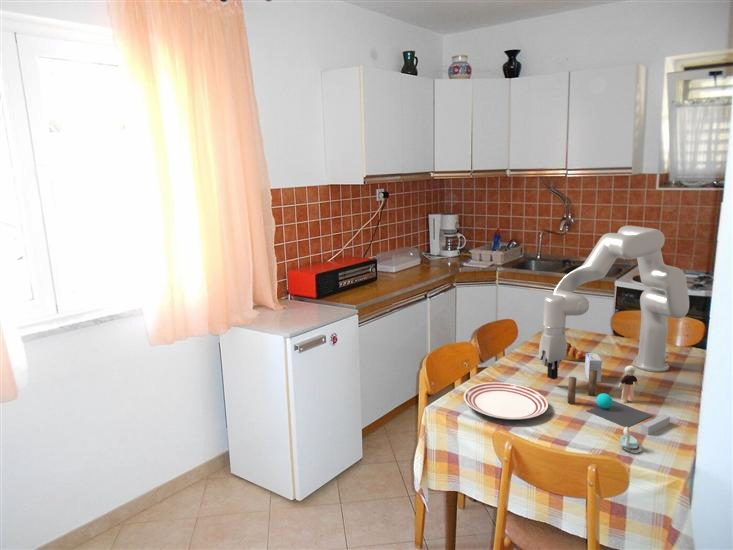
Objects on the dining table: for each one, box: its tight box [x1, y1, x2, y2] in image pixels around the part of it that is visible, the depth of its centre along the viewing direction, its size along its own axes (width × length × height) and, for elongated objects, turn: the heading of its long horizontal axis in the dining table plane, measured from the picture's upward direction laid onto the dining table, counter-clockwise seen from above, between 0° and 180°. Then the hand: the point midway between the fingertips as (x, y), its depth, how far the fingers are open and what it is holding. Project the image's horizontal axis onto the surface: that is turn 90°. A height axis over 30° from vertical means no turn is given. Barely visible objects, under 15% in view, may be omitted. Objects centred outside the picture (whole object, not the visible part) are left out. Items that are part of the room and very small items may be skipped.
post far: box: [567, 376, 577, 405], centre depth 185 cm, size 2×2×9 cm
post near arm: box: [587, 369, 597, 397], centre depth 191 cm, size 2×2×9 cm
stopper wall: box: [640, 413, 671, 435], centre depth 167 cm, size 12×2×2 cm, turn 123°
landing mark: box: [586, 399, 653, 428], centre depth 177 cm, size 14×14×1 cm
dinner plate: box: [463, 381, 549, 420], centre depth 183 cm, size 27×27×3 cm
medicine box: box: [584, 352, 603, 383], centre depth 205 cm, size 8×4×9 cm, turn 168°
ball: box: [595, 392, 614, 409], centre depth 181 cm, size 5×5×5 cm
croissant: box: [562, 341, 586, 362], centre depth 229 cm, size 21×10×8 cm, turn 44°
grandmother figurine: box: [617, 365, 639, 404], centre depth 185 cm, size 8×4×13 cm, turn 118°
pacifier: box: [618, 427, 643, 454], centre depth 155 cm, size 7×6×6 cm
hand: (552, 377), depth 199 cm, fingers closed
